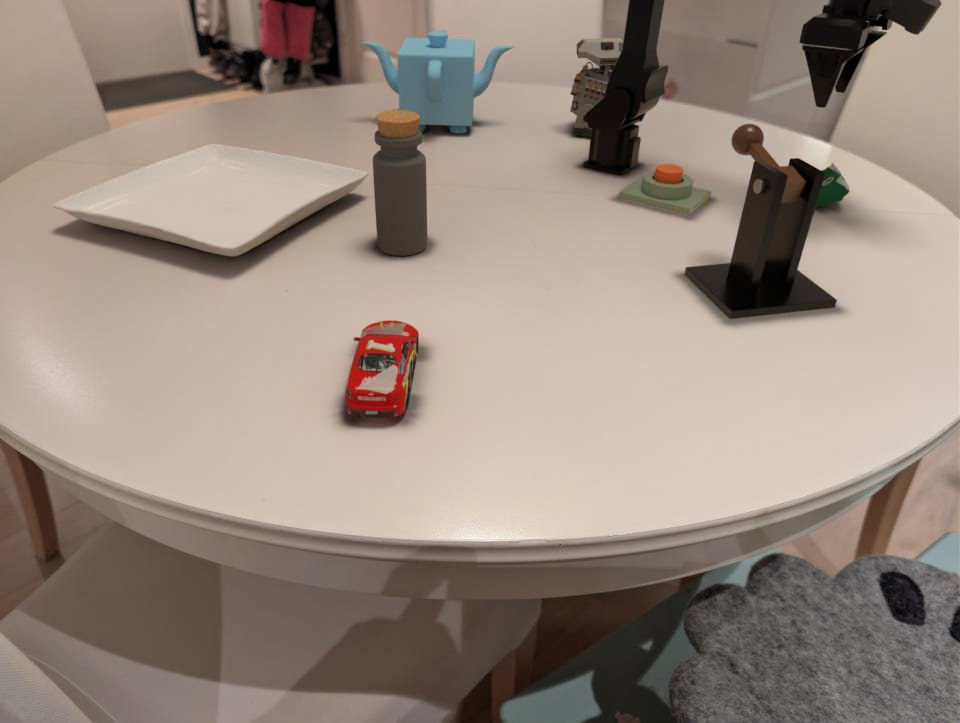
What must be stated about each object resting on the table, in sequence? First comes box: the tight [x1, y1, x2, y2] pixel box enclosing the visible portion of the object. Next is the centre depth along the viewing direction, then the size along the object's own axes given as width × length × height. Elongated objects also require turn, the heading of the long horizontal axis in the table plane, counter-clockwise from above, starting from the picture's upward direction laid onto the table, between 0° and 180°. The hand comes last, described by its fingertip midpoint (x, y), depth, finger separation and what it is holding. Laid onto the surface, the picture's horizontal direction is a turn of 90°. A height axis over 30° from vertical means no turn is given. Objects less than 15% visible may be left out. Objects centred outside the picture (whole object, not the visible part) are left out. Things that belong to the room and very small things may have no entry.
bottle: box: [372, 109, 428, 257], centre depth 83 cm, size 6×6×15 cm
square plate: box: [53, 143, 369, 257], centre depth 93 cm, size 27×27×4 cm
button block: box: [618, 170, 712, 216], centre depth 100 cm, size 10×8×3 cm
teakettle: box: [361, 29, 515, 134], centre depth 125 cm, size 19×19×15 cm
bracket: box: [684, 157, 838, 320], centre depth 75 cm, size 10×12×14 cm
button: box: [654, 163, 684, 184], centre depth 99 cm, size 4×4×2 cm
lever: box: [731, 123, 806, 203], centre depth 75 cm, size 11×3×3 cm, turn 14°
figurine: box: [569, 37, 624, 139], centre depth 123 cm, size 9×12×15 cm
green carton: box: [815, 162, 850, 209], centre depth 101 cm, size 9×4×6 cm
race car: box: [344, 319, 420, 419], centre depth 63 cm, size 13×5×4 cm, turn 177°
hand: (830, 99), depth 91 cm, fingers open, 9 cm apart
